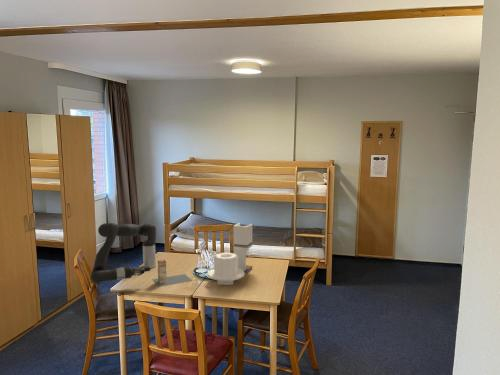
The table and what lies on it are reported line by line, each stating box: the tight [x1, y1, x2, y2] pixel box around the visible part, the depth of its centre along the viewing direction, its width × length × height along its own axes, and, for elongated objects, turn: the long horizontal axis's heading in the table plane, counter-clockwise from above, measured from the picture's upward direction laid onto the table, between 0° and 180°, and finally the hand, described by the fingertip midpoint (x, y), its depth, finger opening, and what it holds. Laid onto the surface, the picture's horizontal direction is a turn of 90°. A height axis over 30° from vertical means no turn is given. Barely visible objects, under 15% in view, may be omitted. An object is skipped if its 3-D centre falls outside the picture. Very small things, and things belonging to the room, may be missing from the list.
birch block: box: [157, 259, 167, 283], centre depth 272 cm, size 4×4×15 cm
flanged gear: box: [207, 252, 245, 286], centre depth 273 cm, size 25×25×19 cm
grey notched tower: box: [233, 222, 253, 274], centre depth 297 cm, size 11×11×35 cm
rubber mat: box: [152, 273, 193, 288], centre depth 276 cm, size 16×24×1 cm, turn 119°
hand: (149, 268), depth 267 cm, fingers closed
